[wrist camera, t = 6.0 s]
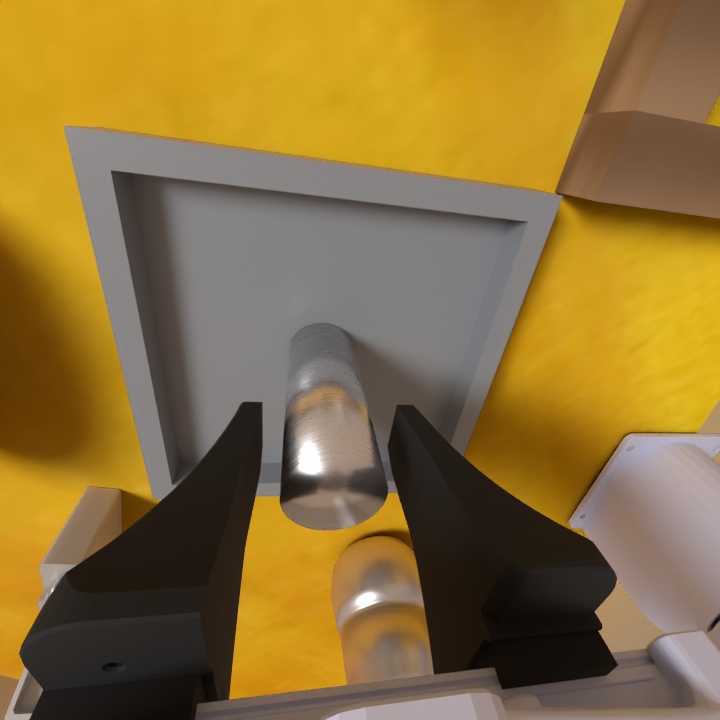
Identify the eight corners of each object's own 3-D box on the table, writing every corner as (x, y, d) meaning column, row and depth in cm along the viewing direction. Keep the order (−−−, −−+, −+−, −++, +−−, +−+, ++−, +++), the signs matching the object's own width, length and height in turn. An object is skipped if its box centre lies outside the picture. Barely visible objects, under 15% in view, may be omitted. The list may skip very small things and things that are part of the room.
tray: (439, 465, 23) (450, 491, 21) (165, 468, 20) (153, 498, 18) (533, 189, 15) (563, 196, 13) (97, 127, 12) (63, 125, 10)
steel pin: (345, 382, 18) (373, 531, 11) (284, 374, 17) (273, 529, 10) (360, 328, 16) (401, 462, 10) (292, 317, 16) (287, 454, 9)
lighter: (86, 486, 20) (-24, 665, 13) (121, 489, 20) (32, 663, 14) (92, 560, 23) (6, 733, 17) (122, 561, 24) (51, 730, 17)
